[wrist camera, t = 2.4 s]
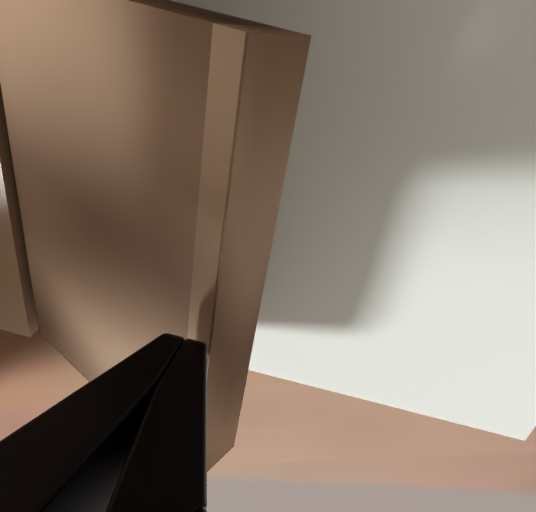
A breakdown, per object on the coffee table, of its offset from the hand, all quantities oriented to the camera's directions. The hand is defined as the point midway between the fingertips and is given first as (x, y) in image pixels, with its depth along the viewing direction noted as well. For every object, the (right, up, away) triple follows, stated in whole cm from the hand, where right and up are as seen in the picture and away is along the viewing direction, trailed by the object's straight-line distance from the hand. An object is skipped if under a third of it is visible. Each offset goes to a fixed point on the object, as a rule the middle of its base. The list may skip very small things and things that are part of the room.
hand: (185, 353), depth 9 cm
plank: (-1, +3, +3) cm, 4 cm away
